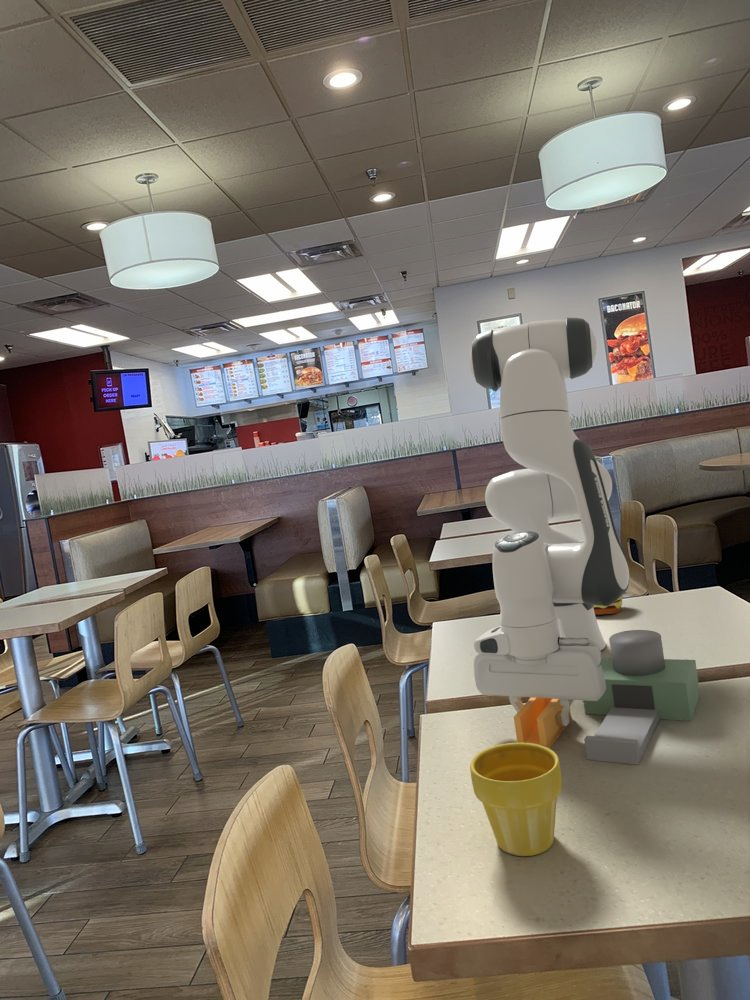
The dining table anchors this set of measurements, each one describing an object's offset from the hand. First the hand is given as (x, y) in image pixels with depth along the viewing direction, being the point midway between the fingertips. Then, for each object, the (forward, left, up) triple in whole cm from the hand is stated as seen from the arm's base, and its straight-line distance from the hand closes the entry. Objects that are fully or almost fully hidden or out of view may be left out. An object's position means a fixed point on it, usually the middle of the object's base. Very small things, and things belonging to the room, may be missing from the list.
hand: (544, 722), depth 109 cm
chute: (0, 0, -2) cm, 2 cm away
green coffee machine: (+12, +5, -2) cm, 13 cm away
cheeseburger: (-8, +68, -2) cm, 68 cm away
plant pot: (+7, -28, -2) cm, 29 cm away
